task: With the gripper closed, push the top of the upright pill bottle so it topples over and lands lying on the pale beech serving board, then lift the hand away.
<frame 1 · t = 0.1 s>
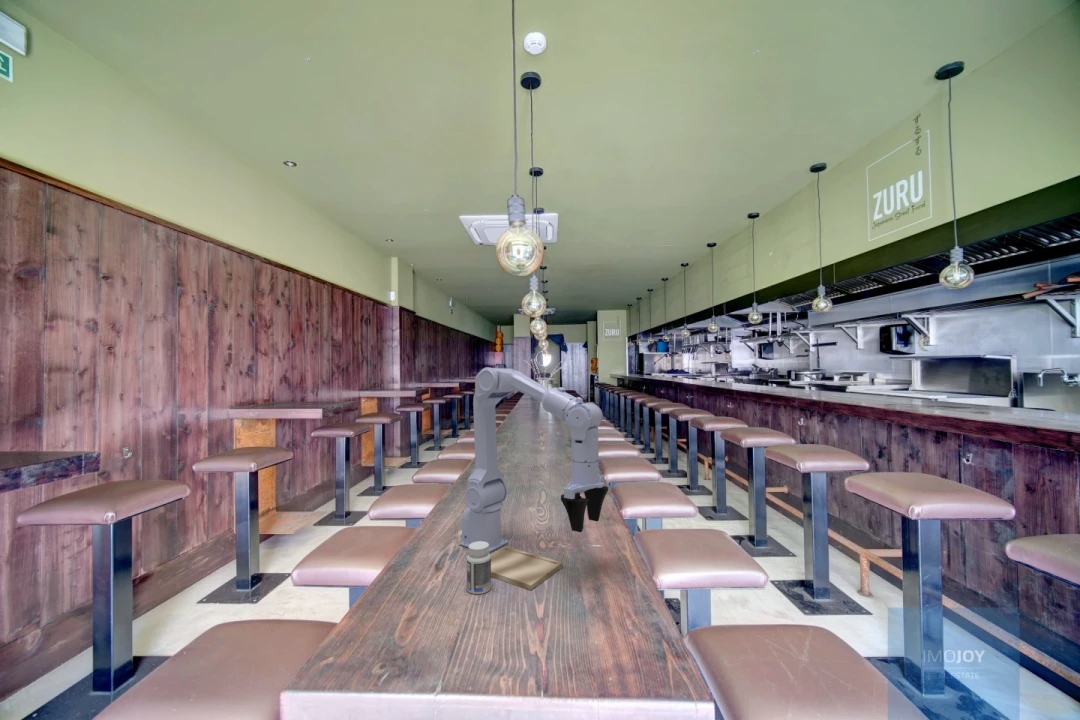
hand: (585, 525, 86), 10 cm above the table, tool pointing down, fingers open, 7 cm apart
pill bottle: (478, 589, 80), on the table
beech board: (516, 568, 89), on the table
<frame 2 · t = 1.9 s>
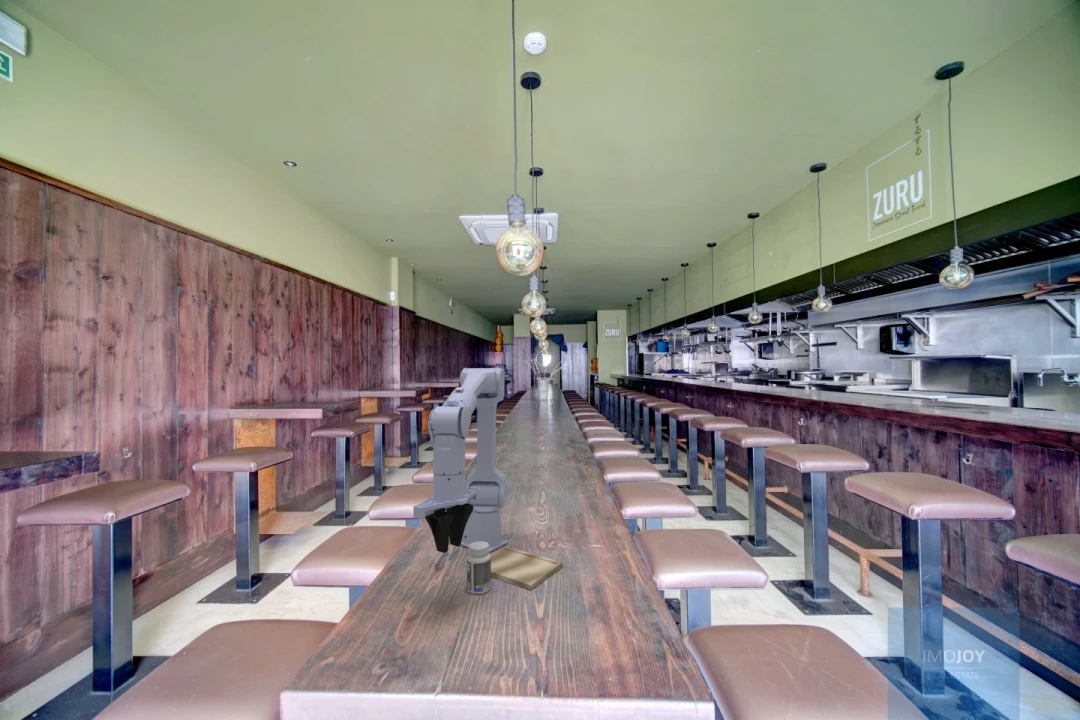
hand: (448, 548, 74), 10 cm above the table, tool pointing down, fingers open, 3 cm apart
nothing on the table moved.
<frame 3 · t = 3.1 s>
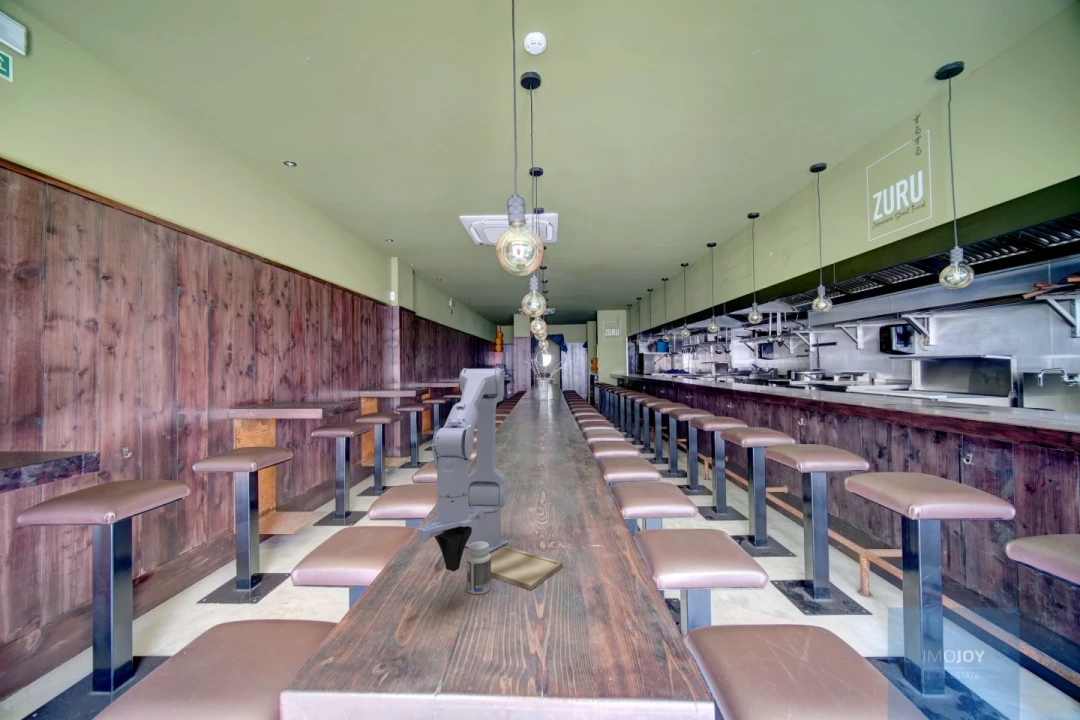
hand: (452, 568, 75), 6 cm above the table, tool pointing down, fingers closed
nothing on the table moved.
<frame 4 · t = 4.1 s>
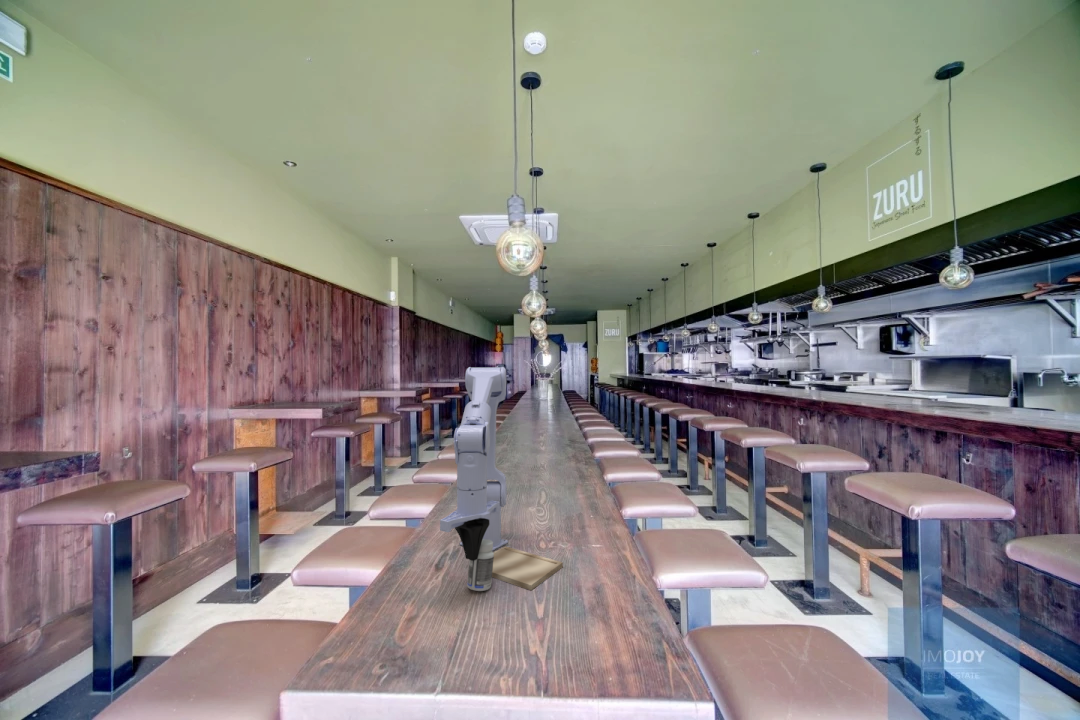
hand: (471, 558, 79), 6 cm above the table, tool pointing down, fingers closed
pill bottle: (478, 587, 80), on the table, touching gripper
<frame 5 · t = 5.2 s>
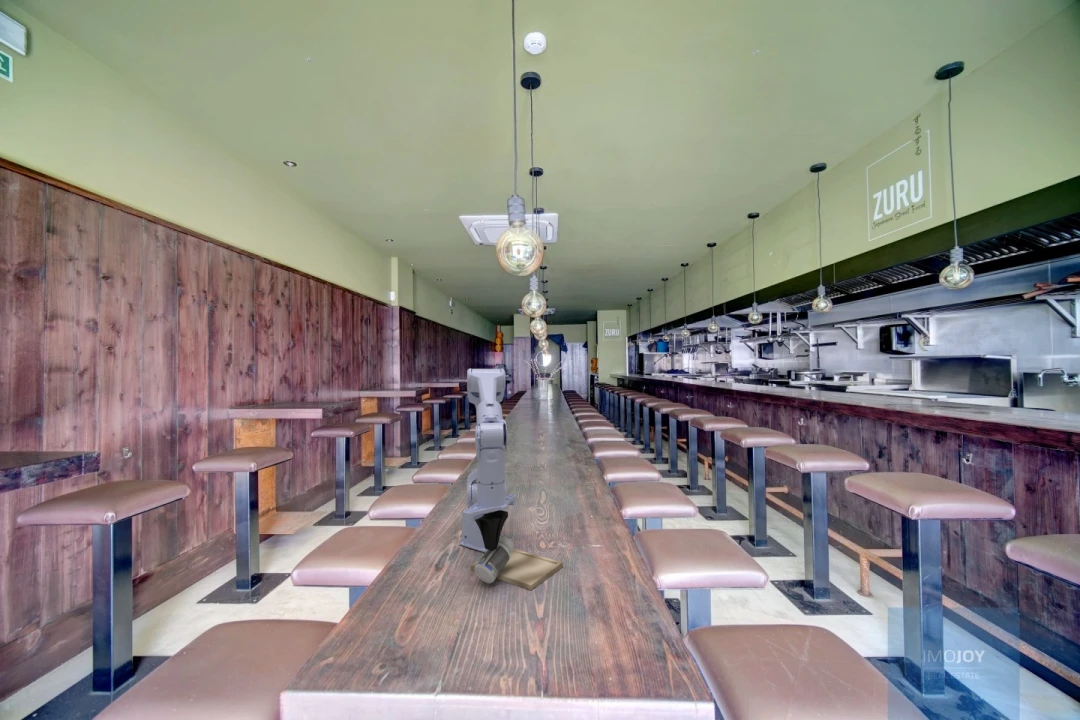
hand: (491, 548, 84), 6 cm above the table, tool pointing down, fingers closed
pill bottle: (482, 575, 81), point 2 cm above the table
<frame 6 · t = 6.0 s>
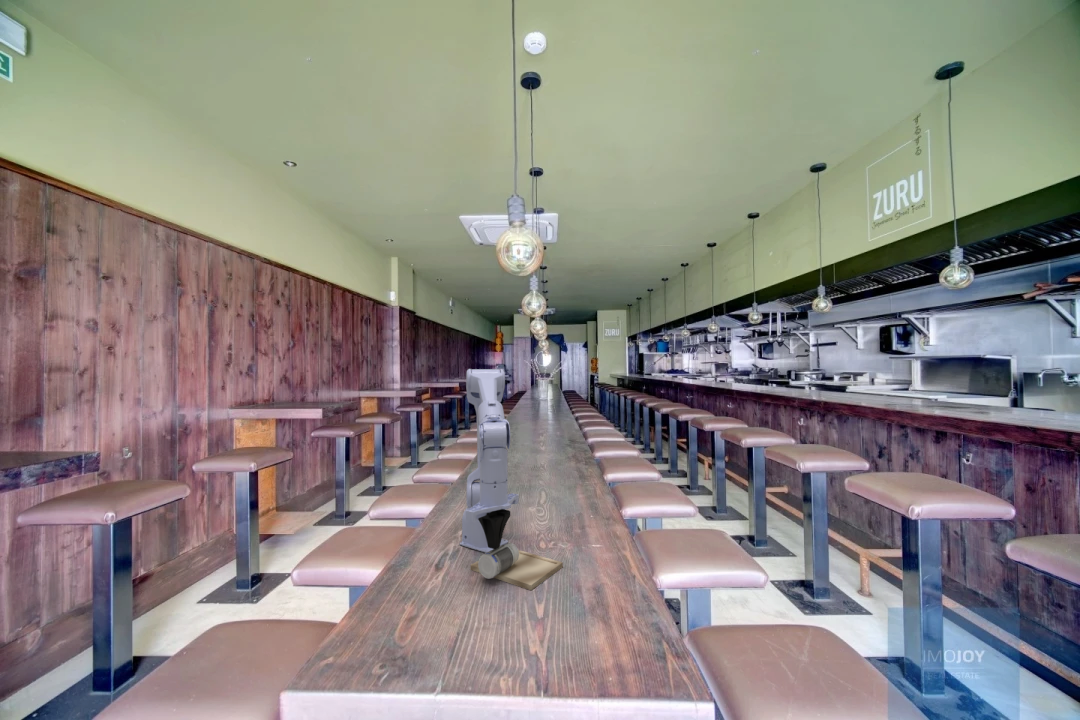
hand: (493, 547, 84), 6 cm above the table, tool pointing down, fingers closed
pill bottle: (485, 567, 82), point 3 cm above the table, touching beech board
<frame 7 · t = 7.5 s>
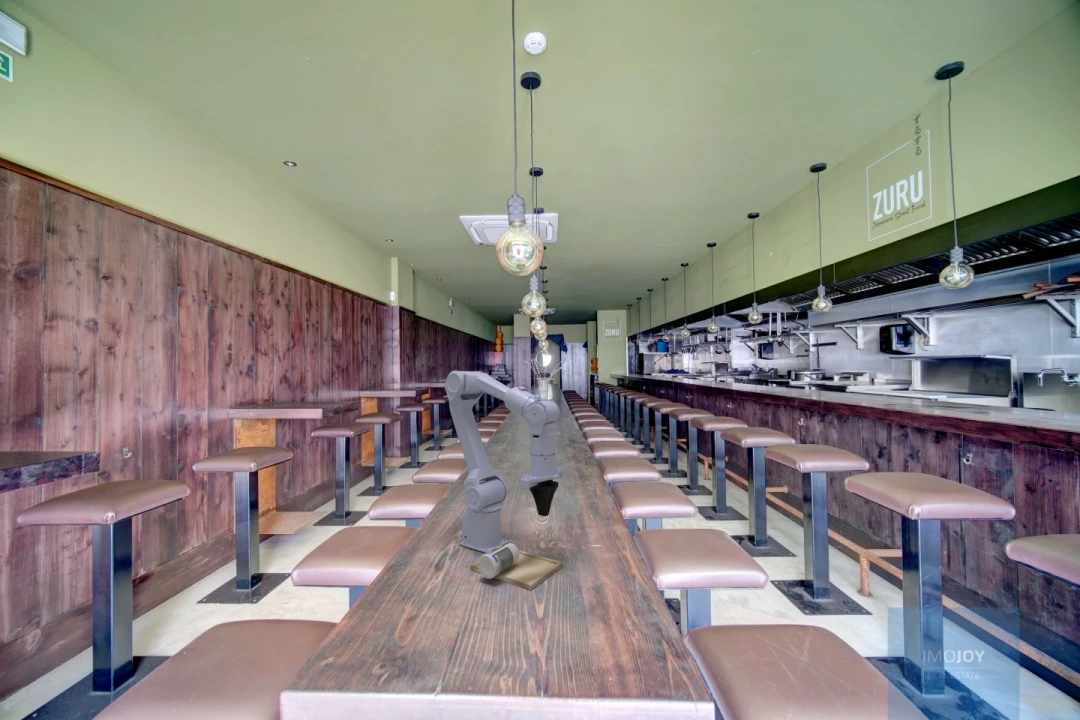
hand: (543, 514, 92), 10 cm above the table, tool pointing down, fingers closed
nothing on the table moved.
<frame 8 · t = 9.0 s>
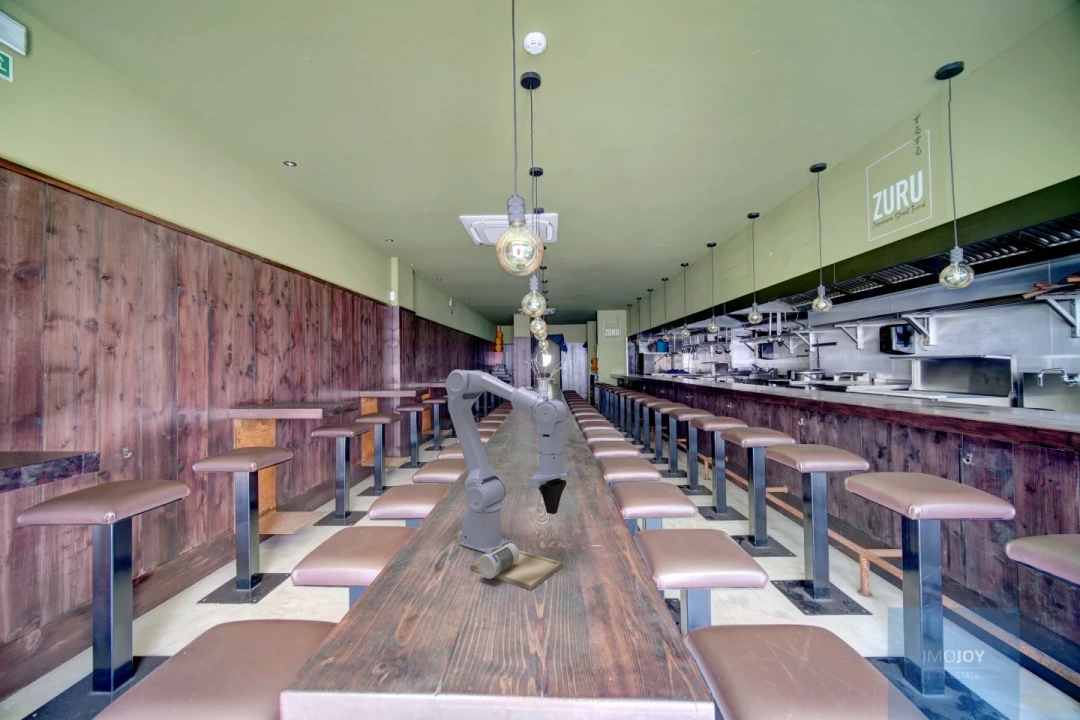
hand: (551, 512, 94), 10 cm above the table, tool pointing down, fingers closed
nothing on the table moved.
at the end: pill bottle tilted 90°; pill bottle inside the target area (7.2 cm from its centre), point 3.3 cm above the table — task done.
